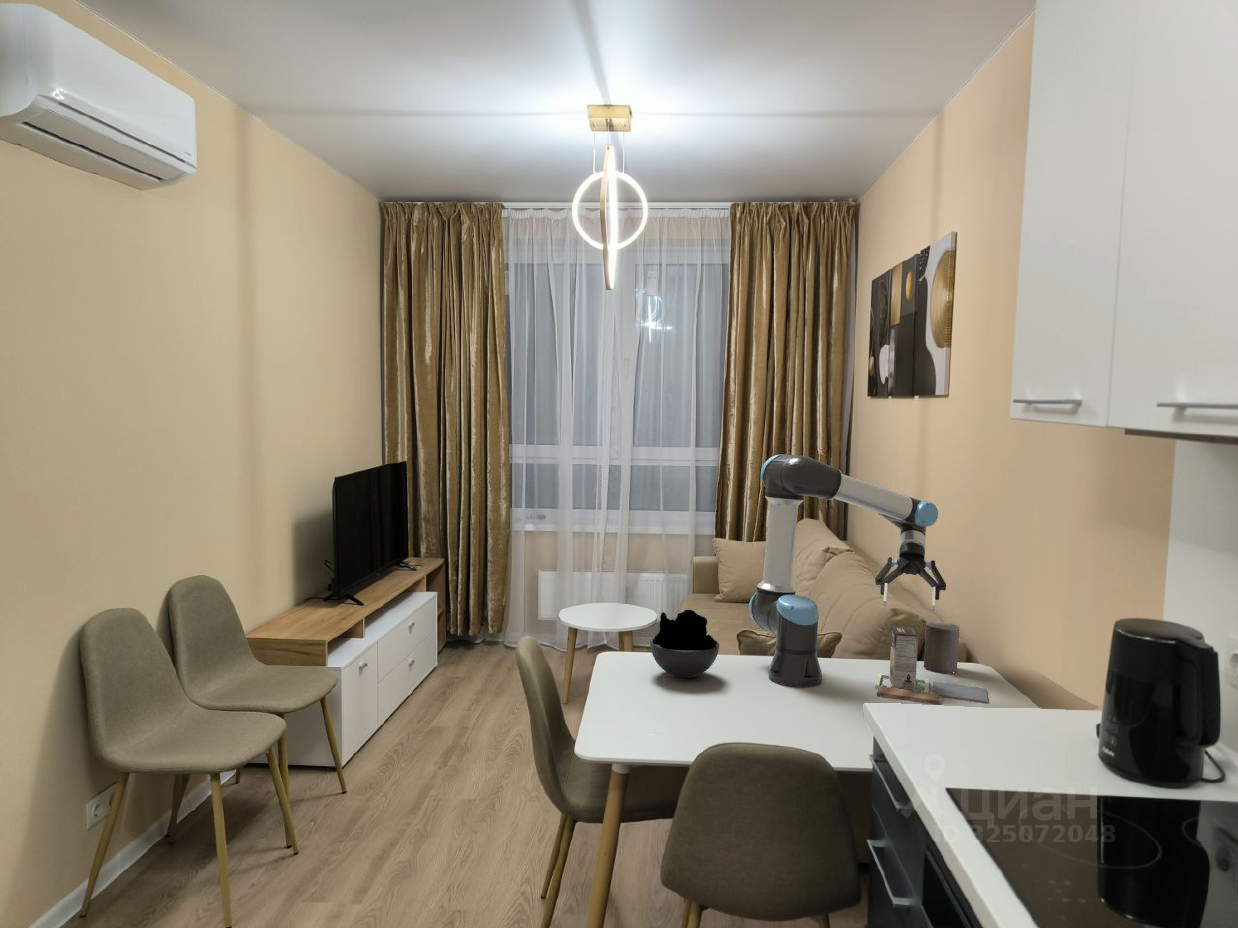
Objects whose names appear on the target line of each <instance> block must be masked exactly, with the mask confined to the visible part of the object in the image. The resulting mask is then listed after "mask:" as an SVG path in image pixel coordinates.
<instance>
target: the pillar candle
mask: <svg viewBox="0 0 1238 928" xmlns="http://www.w3.org/2000/svg"><path fill="white" fill-rule="evenodd" d="M960 629H961V628H960V625H959V626H958V625H957V624H953V623H951V622H946V621H943V620H941V621H936V620H935V621H934V620H933V621H927V622H926V625H925V634H924V636H925V637H924V654H923V657H924V658H923V668H924V669H925V670H927V671H929V670H930V672H933V671H934V672H933V673H938V672H939V673H938V674H948V673H949V674H954V673H953V672H955V673H957V672H956V671H958V659H959V658H958V657H959V645H960V644H959V643H960V642H959V641H960Z"/></svg>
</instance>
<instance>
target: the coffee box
mask: <svg viewBox="0 0 1238 928" xmlns="http://www.w3.org/2000/svg"><path fill="white" fill-rule="evenodd" d="M890 630H891V631H890V632H891V634H890V654H889V655H890V656H889V657H890V658H889V675H890V679H889V682H890V684H891V685H890V686H893V687H895V688H898V689H899V687H901V688H904V689H905V690H908V689H912V691H916V689H917V688H916V685H917V682H916V678H917V668H918V667H917V665H918V662H917V661H918V646H919V644H918V642H919V634H918V633H917V631H916V629H915V627H912V626H911V627H910V626H892V625H891V629H890Z"/></svg>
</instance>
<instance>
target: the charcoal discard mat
mask: <svg viewBox="0 0 1238 928" xmlns="http://www.w3.org/2000/svg"><path fill="white" fill-rule="evenodd" d="M931 687H932V688H931V693H934V694H940V698H944V699H945V698H946V699H953V700H959V701H965V702H974V703H975V702H976V703H979V704H980V703H981V704H988V703H989V702H988V701H989V700H988V694H987V689H986V687H979V686H971V685H963V684H956V683H948V682H941V681H940V682H939V681H932V686H931Z"/></svg>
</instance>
